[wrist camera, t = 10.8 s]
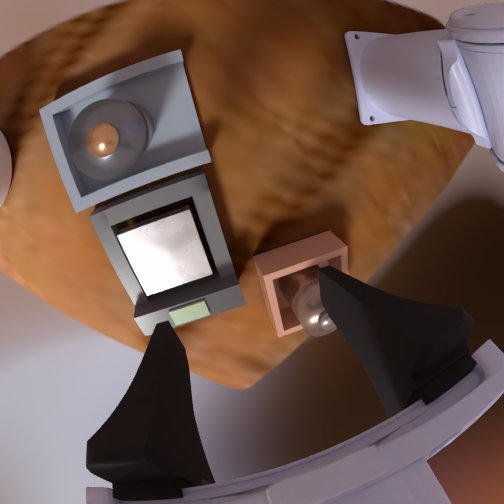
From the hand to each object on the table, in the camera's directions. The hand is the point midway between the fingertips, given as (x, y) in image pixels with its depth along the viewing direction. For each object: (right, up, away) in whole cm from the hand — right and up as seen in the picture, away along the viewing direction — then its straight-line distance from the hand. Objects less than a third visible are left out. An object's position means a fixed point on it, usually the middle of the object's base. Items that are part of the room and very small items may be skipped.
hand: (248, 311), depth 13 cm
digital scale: (-6, +3, +8) cm, 11 cm away
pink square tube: (+4, +1, +13) cm, 13 cm away
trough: (-8, +11, +3) cm, 14 cm away
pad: (-6, +3, +7) cm, 10 cm away
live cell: (-8, +10, +3) cm, 14 cm away
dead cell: (+4, 0, +12) cm, 13 cm away
